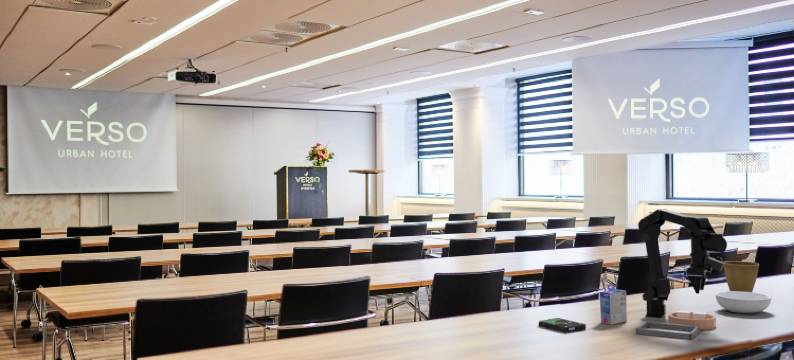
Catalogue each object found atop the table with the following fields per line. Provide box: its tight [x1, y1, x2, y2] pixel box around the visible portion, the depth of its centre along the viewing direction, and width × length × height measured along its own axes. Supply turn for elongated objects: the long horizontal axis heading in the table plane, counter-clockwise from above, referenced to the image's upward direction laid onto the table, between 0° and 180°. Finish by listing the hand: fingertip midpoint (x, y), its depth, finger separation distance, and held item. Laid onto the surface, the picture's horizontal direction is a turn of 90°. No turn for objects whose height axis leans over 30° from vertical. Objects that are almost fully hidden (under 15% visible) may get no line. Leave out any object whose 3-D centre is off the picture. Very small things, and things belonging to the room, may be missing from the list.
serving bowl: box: [715, 290, 772, 315], centre depth 300 cm, size 21×21×7 cm
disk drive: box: [538, 317, 587, 334], centre depth 271 cm, size 10×3×15 cm
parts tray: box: [635, 321, 701, 340], centre depth 261 cm, size 19×15×2 cm
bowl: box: [667, 311, 717, 330], centre depth 274 cm, size 16×16×4 cm
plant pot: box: [723, 260, 760, 292], centre depth 334 cm, size 15×15×16 cm
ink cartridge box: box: [599, 283, 628, 325], centre depth 281 cm, size 10×6×14 cm, turn 124°
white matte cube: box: [676, 309, 692, 319], centre depth 276 cm, size 4×4×4 cm
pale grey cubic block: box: [693, 311, 708, 319], centre depth 273 cm, size 4×4×4 cm
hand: (699, 291), depth 272 cm, fingers open, 9 cm apart
